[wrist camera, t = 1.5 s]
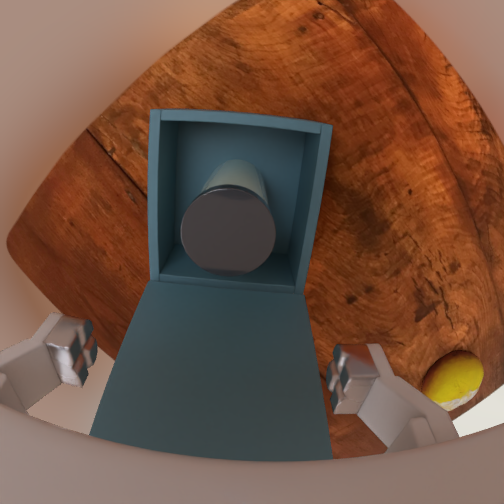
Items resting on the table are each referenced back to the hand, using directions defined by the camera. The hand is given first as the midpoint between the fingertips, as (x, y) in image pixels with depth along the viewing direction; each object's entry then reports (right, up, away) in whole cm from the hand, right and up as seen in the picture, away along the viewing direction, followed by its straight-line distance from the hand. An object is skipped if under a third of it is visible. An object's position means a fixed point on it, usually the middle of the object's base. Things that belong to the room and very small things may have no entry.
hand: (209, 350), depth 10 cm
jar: (0, +9, +18) cm, 20 cm away
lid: (-1, -3, +9) cm, 10 cm away
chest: (0, +9, +19) cm, 21 cm away
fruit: (+33, -16, +31) cm, 48 cm away
